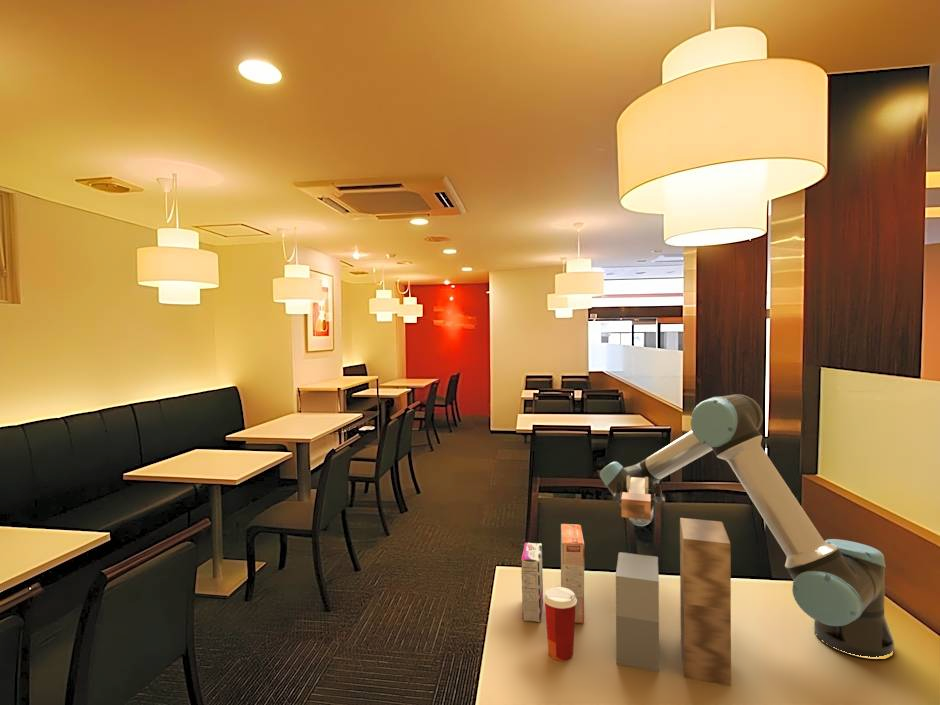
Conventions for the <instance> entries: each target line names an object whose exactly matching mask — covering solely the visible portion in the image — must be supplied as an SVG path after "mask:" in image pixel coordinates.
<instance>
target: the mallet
mask: <svg viewBox="0 0 940 705" xmlns="http://www.w3.org/2000/svg"><path fill="white" fill-rule="evenodd" d="M620 508H621V510H620V511H621V518H626V519H629V518H636V519H646V520H651V494H645V478H636V477H631V481H630V488H629V493H627V492H622V498H621V506H620Z"/></svg>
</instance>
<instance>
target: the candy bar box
mask: <svg viewBox="0 0 940 705" xmlns="http://www.w3.org/2000/svg"><path fill="white" fill-rule="evenodd" d="M542 548H543V544H542V543H541V542H540V543H538V542H524V544H523V550H522V551H523V552H522V555H521V560H520V561H521V563H520V564H521V566H520V568H521V569H520V570H521V591H522V594H521V598H522V599H521V600H522V605H521V606H522V621H523V622H529V621H533V622H532V623H541V622H542V614H543V605H544V600H543V596H544V584H543V583H544V582H543V579H544V578H543V549H542Z"/></svg>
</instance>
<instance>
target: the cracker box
mask: <svg viewBox="0 0 940 705" xmlns="http://www.w3.org/2000/svg"><path fill="white" fill-rule="evenodd" d="M560 587H563V588H567V589H570V590H571V591H573V592H574V594H575V597H576V599H577V603H576V606H575V624H584V623H585V541H584V536H583V529H582V526H581V524H577V523H576V524H573V523H572V524H571V523H570V524H569V523H560Z"/></svg>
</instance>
